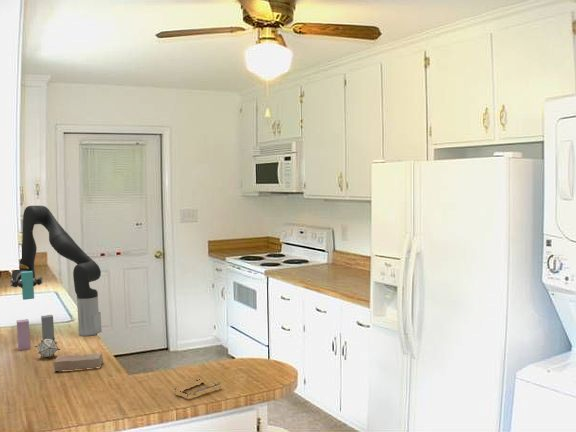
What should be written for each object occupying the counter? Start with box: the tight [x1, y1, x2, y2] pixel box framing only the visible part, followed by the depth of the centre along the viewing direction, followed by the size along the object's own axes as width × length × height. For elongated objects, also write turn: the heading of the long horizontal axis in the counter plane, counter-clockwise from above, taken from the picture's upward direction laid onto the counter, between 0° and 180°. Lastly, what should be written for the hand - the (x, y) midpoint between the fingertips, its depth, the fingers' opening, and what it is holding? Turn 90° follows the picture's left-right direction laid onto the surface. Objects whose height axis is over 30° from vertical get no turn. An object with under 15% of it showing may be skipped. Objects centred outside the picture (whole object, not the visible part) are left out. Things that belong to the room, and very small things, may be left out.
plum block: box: [16, 318, 31, 351], centre depth 248 cm, size 4×4×12 cm
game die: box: [34, 337, 61, 360], centre depth 232 cm, size 9×8×10 cm
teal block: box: [21, 271, 35, 300], centre depth 259 cm, size 4×4×12 cm
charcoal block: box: [40, 314, 56, 342], centre depth 255 cm, size 4×4×12 cm
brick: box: [53, 352, 104, 372], centre depth 218 cm, size 16×8×5 cm, turn 101°
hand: (28, 284), depth 257 cm, fingers closed on teal block, 4 cm apart
